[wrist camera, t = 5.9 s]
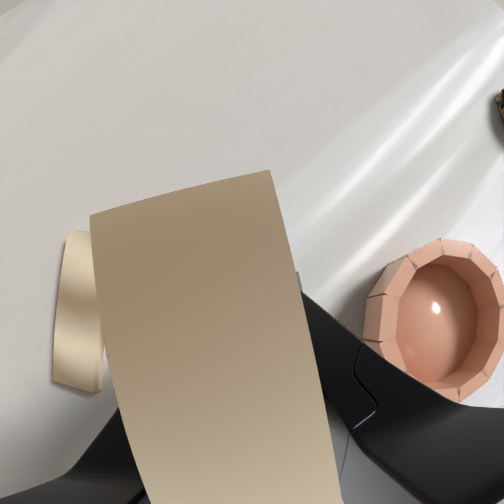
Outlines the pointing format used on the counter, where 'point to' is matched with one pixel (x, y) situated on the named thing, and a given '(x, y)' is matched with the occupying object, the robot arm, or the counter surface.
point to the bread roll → (501, 103)
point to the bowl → (439, 317)
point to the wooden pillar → (213, 347)
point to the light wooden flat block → (78, 319)
